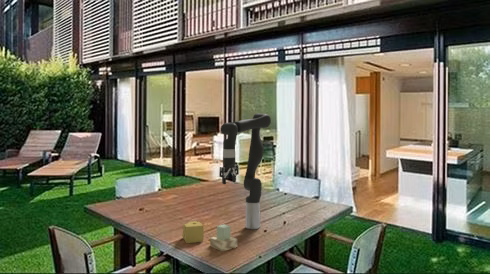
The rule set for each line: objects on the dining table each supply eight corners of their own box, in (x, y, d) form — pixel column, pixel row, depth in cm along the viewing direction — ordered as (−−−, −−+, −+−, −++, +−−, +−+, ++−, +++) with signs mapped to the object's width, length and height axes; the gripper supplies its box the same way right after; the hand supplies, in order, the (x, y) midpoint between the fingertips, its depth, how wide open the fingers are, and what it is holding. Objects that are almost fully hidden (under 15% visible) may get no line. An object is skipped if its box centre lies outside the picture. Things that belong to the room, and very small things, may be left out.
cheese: (182, 238, 232) (182, 222, 232) (199, 236, 236) (199, 220, 235) (185, 244, 223) (185, 226, 222) (204, 241, 226) (204, 225, 226)
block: (223, 236, 222) (223, 224, 222) (230, 238, 219) (230, 226, 218) (216, 238, 218) (216, 226, 218) (223, 240, 215) (223, 228, 214)
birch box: (226, 242, 226) (226, 234, 226) (237, 247, 218) (237, 239, 217) (210, 246, 220) (210, 237, 219) (221, 252, 211) (221, 243, 211)
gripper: (233, 154, 240) (232, 180, 241) (216, 156, 230) (216, 183, 231) (241, 155, 235) (241, 182, 236) (225, 158, 225) (225, 185, 226)
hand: (229, 183), depth 234 cm, fingers open, 8 cm apart
